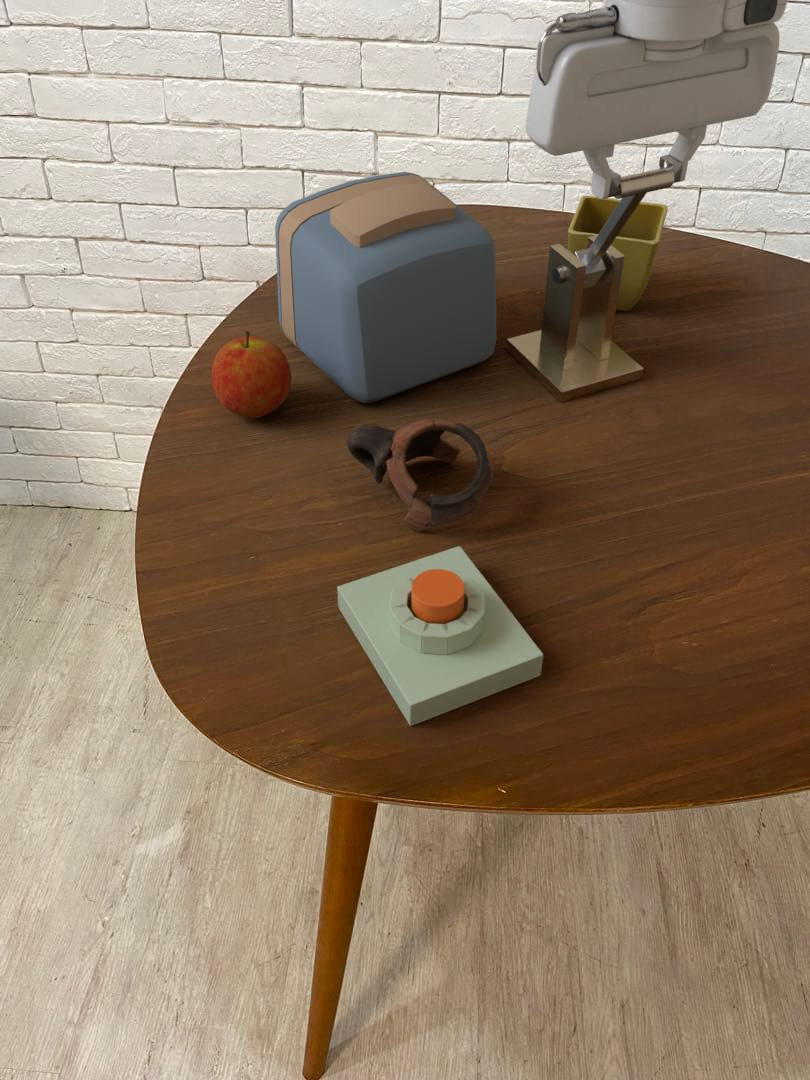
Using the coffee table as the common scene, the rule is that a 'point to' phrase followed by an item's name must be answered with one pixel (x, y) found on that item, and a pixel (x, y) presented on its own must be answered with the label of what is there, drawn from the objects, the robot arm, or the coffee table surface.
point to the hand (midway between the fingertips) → (638, 187)
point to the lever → (621, 217)
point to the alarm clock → (385, 284)
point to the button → (437, 596)
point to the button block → (438, 639)
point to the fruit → (251, 376)
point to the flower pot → (622, 241)
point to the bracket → (577, 330)
